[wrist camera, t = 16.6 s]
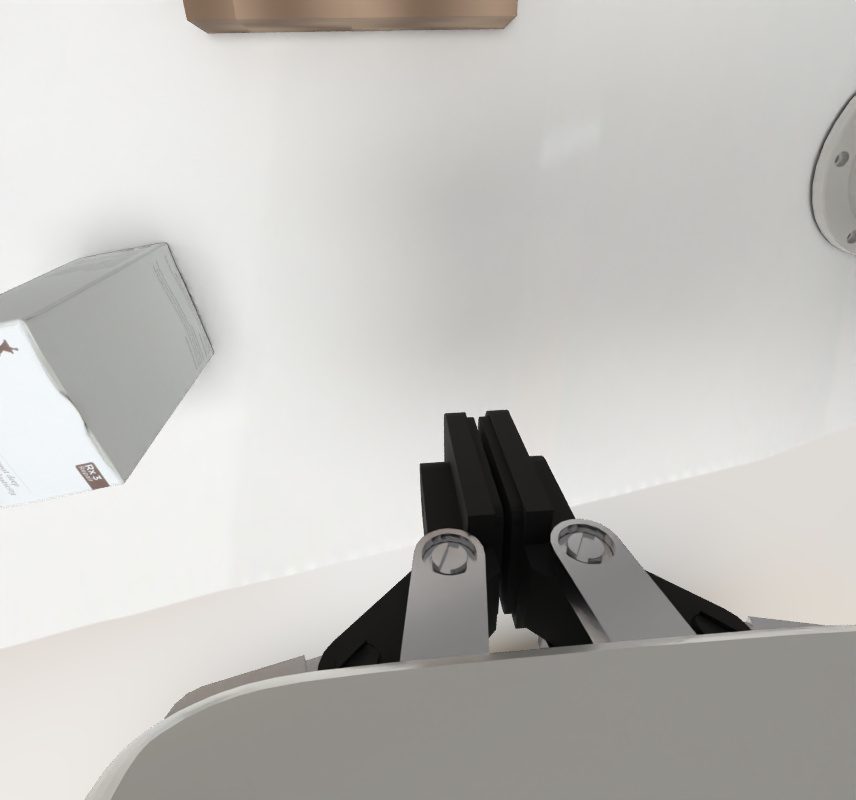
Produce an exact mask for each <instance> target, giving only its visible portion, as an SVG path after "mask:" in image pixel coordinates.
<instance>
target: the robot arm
mask: <svg viewBox="0 0 856 800" xmlns="http://www.w3.org/2000/svg"><path fill="white" fill-rule="evenodd" d="M812 204H813V209H814V215H815V219H816V222H817V224H818V226H819V228H820V230H821V233H822V234H823V235H824V236H825V237H826V238H827V240H828V241H829V242H830V243H831V244H833V245H834V246H836V247H837V248H839V249H840V250H842V251H845V252H848V253H851V254H854V255H856V95H855V96H854V97H853V98H852V100H851V101H850V102H849V103H848V105H847V106H846V108H845V109H844V111H843V112H842V114H841V115H840V116H839V118H838V119H837V121H836V122H835V124H834V126H833V128H832V130H831V132H830V134H829V136H828V138H827V139H826V141H825V143H824V146H823V149H822V152H821V154H820V157H819V160H818V163H817V166H816V171H815V176H814V181H813V197H812ZM420 486H421V504H422V517H423V528H424V537H422V539H421V540H420V541H419V542H418V543H417V545H416V548H415V551H414V557H413V564H412V571H411V572H409V573H408V574H407V575H406V576H405V577H404V578H403V579H402V580H401V581H400V582H398V583H397V584H396V585H395V586H394V587H393V588H392V589H391V590H390V591H389V592H387V593H386V594H385V595H384V596H383V597H382V598H381V599H380V600H379V601H377V602H376V603H375V604H374V605H373V606H372V607H371V608H370V609H369V610H367V611H366V612H365V613H364V614H363V615H362V616H361V617H360V618H359V619H358V620H356V621H355V622H354V623H353V624H352V625H351V626H350V627H349V628H348V629H347V630H345V631H344V632H343V633H342V634H341V635H340V636H339V637H338V638H337V639H335V640H334V641H333V642H332V643H331V645H330V646H329V647H328V648H327V649H326V650H325V652H324V653H323V655H322V656H319V657H317V658H313V659H310V660H307V661H306V660H305V656H304V655H303V656H300V657H297V658H293V659H290V660H287V661H283V662H280V663H277V664H274V665H270V666H267V667H264V668H261V669H258V670H255V671H251V672H248V673H244V674H241V675H238V676H235V677H232V678H228V679H225V680H222V681H218V682H215V683H212V684H209V685H205V686H202V687H200V688H198V689H196V690H194V691H192V692H189V693H188V694H186V695H185V696H184V697H183V698H182V699H180V700H179V701H178V702H177V703H176V704H175V705H174V706H173V707H172V709H171V711H170V712H169V713H168V714H167V716H166V717H165V719H164V720H162V721H161V722H159V723H157V724H156V725H155V726H153V727H151V728H150V729H148V730H147V731H145V732H144V733H143V734H141V735H140V736H139V737H138V738H136V739H135V740H134V741H133V742H131V743H130V744H129V745H128V746H127V747H126V748H125V749H124V750H123V751H121V752H120V753H119V755H118V756H117V757H116V758H115V759H114V760H113V761H112V763H111V764H110V765H109V766H108V767H107V768H106V770H105V771H104V772H103V773H102V775H101V776H100V778H99V779H98V781H97V782H96V784H95V785H94V786H93V788H92V790H91V791H90V792H89V794H88V795H87V797H86V798H85V800H856V625H818V624H809V623H800V622H791V621H783V620H775V619H766V618H758V617H748V619H747V621H746V622H743V621H742V620H741V619H739V618H738V617H737V616H735V615H734V614H732V613H731V612H729V611H727V610H726V609H724V608H722V607H720V606H718V605H716V604H714V603H712V602H709V601H707V600H705V599H703V598H701V597H699V596H697V595H695V594H693V593H691V592H689V591H687V590H684V589H683V588H680V587H679V586H676V585H674V584H672V583H670V582H668V581H666V580H664V579H662V578H660V577H658V576H656V575H654V574H652V573H649V572H648V571H646V570H644V569H643V567H642V566H641V565H640V564H639V563H638V561H637V560H636V559H635V558H634V556H633V555H632V554H631V553H630V551H629V550H628V549H627V548H626V546H625V545H624V544H623V543H622V542H621V540H620V539H619V538H618V537H617V536H616V535H615V534H614V533H613V532H612V531H611V530H610V529H608V528H607V527H605V526H603V525H602V524H599V523H596V522H593V521H590V520H584V519H575V517H574V515H573V513H572V511H571V509H570V507H569V505H568V503H567V501H566V499H565V497H564V495H563V493H562V491H561V489H560V487H559V485H558V483H557V482H556V480H555V478H554V476H553V474H552V472H551V470H550V468H549V466H548V464H547V462H546V460H545V458H544V457H543V456H529V455H528V452H527V450H526V448H525V446H524V444H523V442H522V439H521V437H520V435H519V433H518V431H517V429H516V426H515V424H514V422H513V420H512V418H511V416H510V413H509V411H508V410H495V411H487V412H486V415H485V416H484V417H479V420H478V429H477V426H476V423H475V420H474V417H468V418H467V416H466V413H465V412H462V413H445V414H444V462H436V463H421V464H420ZM499 597H500V601H501V605H502V609H503V612H504V614H512V617H513V621H514V625H515V628H516V629H517V628H527V629H529V630H531V631H532V632H534V633H535V634H537V635H538V645H539V648H540V649H531V650H520V651H509V652H498V653H489V637H490V636H491V635H492V634H493V632H494V631H495V630H496V622H497V614H498V606H499Z"/></svg>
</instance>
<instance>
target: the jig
mask: <svg viewBox="0 0 856 800" xmlns="http://www.w3.org/2000/svg"><path fill="white" fill-rule="evenodd" d="M517 1H518V0H183V3H184V7H185V12H186V17H187V20H188V21H189V22H191V23H193V24H194V25H196V26H197V27H199V28H200V29H202V30H204V31H205V32H207V33H249V32H315V31H381V30H447V29H504V28H505V27H506V26H507V25H508V24H509V23H510V22H511V21H512V20H513V19H514V18H515V17H516V16H517Z"/></svg>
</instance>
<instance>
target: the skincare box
mask: <svg viewBox="0 0 856 800" xmlns="http://www.w3.org/2000/svg"><path fill="white" fill-rule="evenodd" d="M213 354H214V353H213V350H212V348H211V345H210V343H209V340H208V338H207V336H206V333H205V331H204V329H203V326H202V324H201V322H200V319H199V317H198V315H197V312H196V310H195V308H194V305H193V303H192V301H191V298H190V296H189V294H188V291H187V289H186V287H185V285H184V282H183V280H182V278H181V276H180V274H179V272H178V269H177V267H176V265H175V263H174V261H173V258H172V256H171V253H170V251H169V248H168V245H167V244H166V243H159V244H153V245H148V246H142V247H137V248H131V249H126V250H121V251H116V252H111V253H106V254H100V255H95V256H90V257H85V258H80V259H76V260H74V261H72V262H70V263H67V264H65V265H63V266H61V267H58V268H56V269H54V270H52V271H50V272H48V273H45V274H43V275H41V276H39V277H37V278H34V279H32V280H30V281H28V282H26V283H24V284H22V285H19V286H17V287H15V288H13V289H11V290H9V291H6V292H4V293H2V294H0V506H1V507H2V508H8V507H14V506H19V505H24V504H29V503H34V502H39V501H43V500H48V499H52V498H57V497H62V496H67V495H72V494H76V493H81V492H86V491H91V490H95V489H99V488H104V487H109V486H114V485H120V484H124V483H125V482H126V480H127V479H128V477H129V476H130V474H131V473H132V471H133V470H134V468H135V467H136V466H137V464H138V463H139V461H140V460H141V458H142V457H143V455H144V454H145V452H146V451H147V449H148V448H149V447H150V445H151V444H152V442H153V441H154V439H155V438H156V436H157V435H158V433H159V432H160V430H161V429H162V428H163V426H164V425H165V423H166V422H167V420H168V419H169V418H170V416H171V415H172V413H173V412H174V410H175V409H176V407H177V406H178V404H179V403H180V402H181V400H182V399H183V397H184V396H185V394H186V393H187V391H188V390H189V389H190V387H191V386H192V384H193V383H194V381H195V380H196V379H197V377H198V375H199V374H200V373H201V371H202V370H203V368H204V367H205V365H206V364H207V362H208V361H209V360H210V358H211V357H212V355H213Z"/></svg>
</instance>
